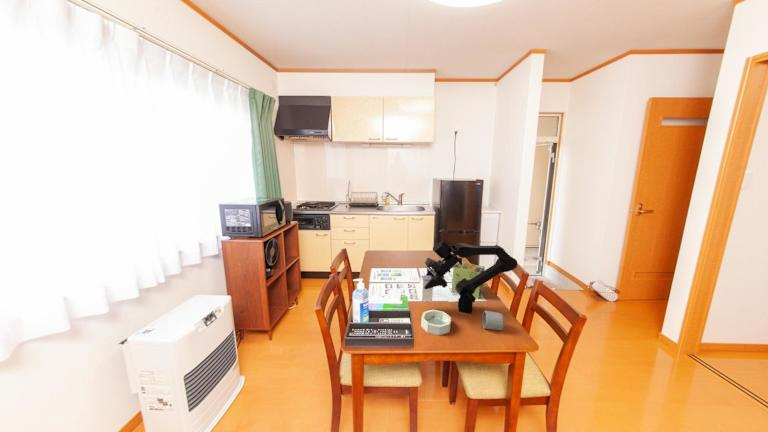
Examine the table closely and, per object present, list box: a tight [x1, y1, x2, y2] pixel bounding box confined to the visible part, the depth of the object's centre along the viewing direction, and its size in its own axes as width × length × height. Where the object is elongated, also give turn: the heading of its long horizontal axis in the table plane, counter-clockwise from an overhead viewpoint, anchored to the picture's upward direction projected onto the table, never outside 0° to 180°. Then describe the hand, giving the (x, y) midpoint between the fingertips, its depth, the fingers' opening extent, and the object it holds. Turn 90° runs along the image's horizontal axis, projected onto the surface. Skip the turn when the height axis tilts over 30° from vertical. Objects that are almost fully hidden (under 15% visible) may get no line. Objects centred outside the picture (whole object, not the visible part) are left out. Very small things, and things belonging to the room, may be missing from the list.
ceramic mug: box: [482, 310, 506, 331], centre depth 119 cm, size 11×8×8 cm
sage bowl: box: [420, 309, 452, 336], centre depth 119 cm, size 13×13×4 cm
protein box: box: [451, 261, 486, 300], centre depth 151 cm, size 10×15×16 cm
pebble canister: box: [419, 275, 434, 302], centre depth 129 cm, size 5×5×11 cm
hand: (423, 286), depth 129 cm, fingers closed on pebble canister, 5 cm apart
